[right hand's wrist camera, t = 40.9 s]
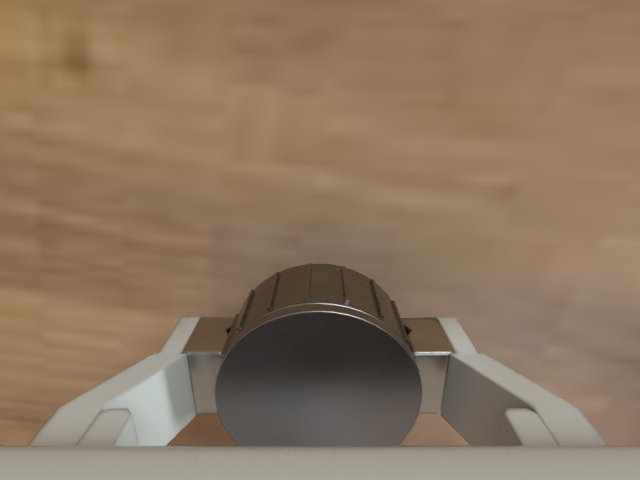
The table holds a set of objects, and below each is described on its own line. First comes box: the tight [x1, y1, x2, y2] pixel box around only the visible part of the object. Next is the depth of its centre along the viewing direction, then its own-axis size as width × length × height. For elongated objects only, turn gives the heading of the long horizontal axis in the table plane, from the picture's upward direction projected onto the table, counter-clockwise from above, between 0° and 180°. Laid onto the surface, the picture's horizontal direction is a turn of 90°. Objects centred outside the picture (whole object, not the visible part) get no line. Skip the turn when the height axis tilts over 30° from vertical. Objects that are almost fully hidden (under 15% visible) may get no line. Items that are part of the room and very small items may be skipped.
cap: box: [214, 263, 422, 446], centre depth 9 cm, size 4×5×2 cm
